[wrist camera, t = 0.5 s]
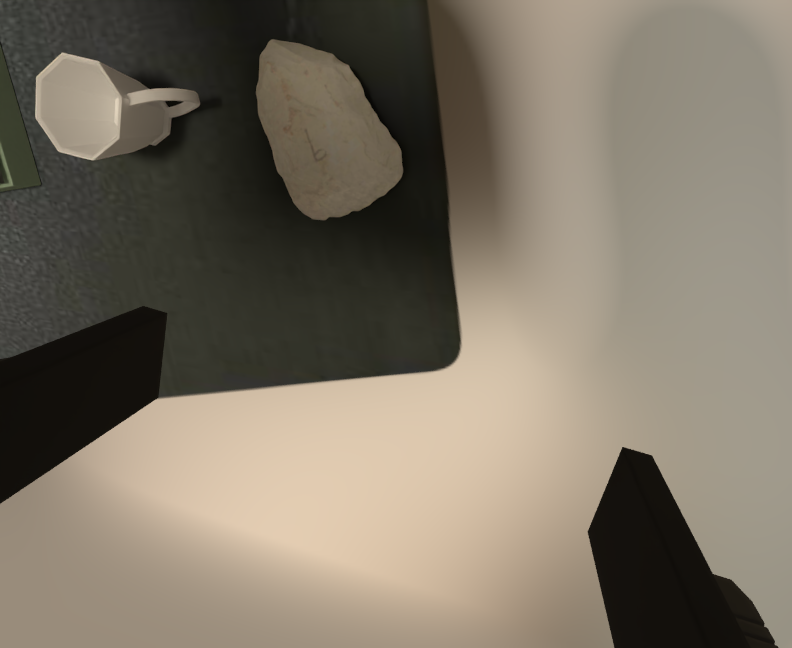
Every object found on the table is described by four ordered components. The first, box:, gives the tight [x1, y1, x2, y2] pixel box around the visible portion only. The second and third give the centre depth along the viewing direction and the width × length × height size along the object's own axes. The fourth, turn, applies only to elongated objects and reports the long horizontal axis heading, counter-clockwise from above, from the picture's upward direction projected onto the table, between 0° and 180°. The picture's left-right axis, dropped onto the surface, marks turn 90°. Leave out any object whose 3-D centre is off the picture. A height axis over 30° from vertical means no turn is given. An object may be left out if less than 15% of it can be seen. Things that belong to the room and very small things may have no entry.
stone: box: [256, 39, 403, 220], centre depth 41 cm, size 9×13×5 cm
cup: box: [35, 53, 200, 160], centre depth 41 cm, size 7×10×8 cm
